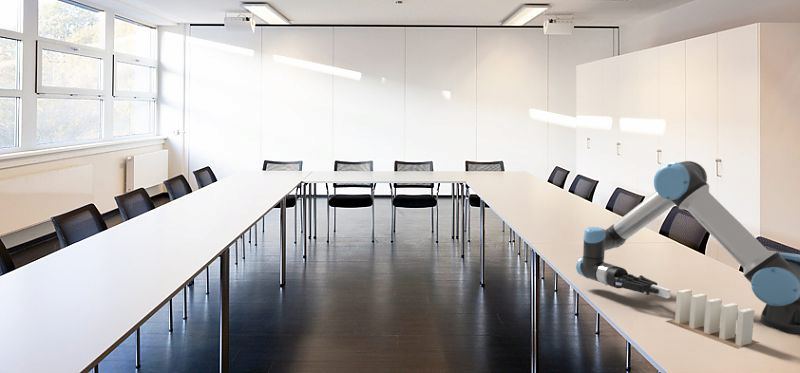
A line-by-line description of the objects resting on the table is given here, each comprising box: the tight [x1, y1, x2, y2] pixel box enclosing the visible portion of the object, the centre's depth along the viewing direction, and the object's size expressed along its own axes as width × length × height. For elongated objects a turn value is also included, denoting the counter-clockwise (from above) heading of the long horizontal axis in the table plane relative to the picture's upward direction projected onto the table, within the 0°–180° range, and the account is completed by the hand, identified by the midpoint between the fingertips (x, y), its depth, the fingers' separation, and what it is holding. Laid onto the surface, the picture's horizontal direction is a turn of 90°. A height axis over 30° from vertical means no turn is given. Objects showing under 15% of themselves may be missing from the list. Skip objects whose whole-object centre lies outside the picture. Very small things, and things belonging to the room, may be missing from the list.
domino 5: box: [735, 307, 755, 346], centre depth 168 cm, size 2×5×10 cm, turn 117°
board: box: [665, 318, 760, 350], centre depth 178 cm, size 10×24×1 cm, turn 27°
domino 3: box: [704, 297, 723, 334], centre depth 177 cm, size 2×5×10 cm, turn 117°
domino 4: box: [719, 302, 739, 340], centre depth 173 cm, size 2×5×10 cm, turn 117°
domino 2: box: [689, 293, 708, 328], centre depth 181 cm, size 2×5×10 cm, turn 117°
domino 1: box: [674, 288, 693, 323], centre depth 186 cm, size 2×5×10 cm, turn 117°
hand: (668, 294), depth 191 cm, fingers closed
